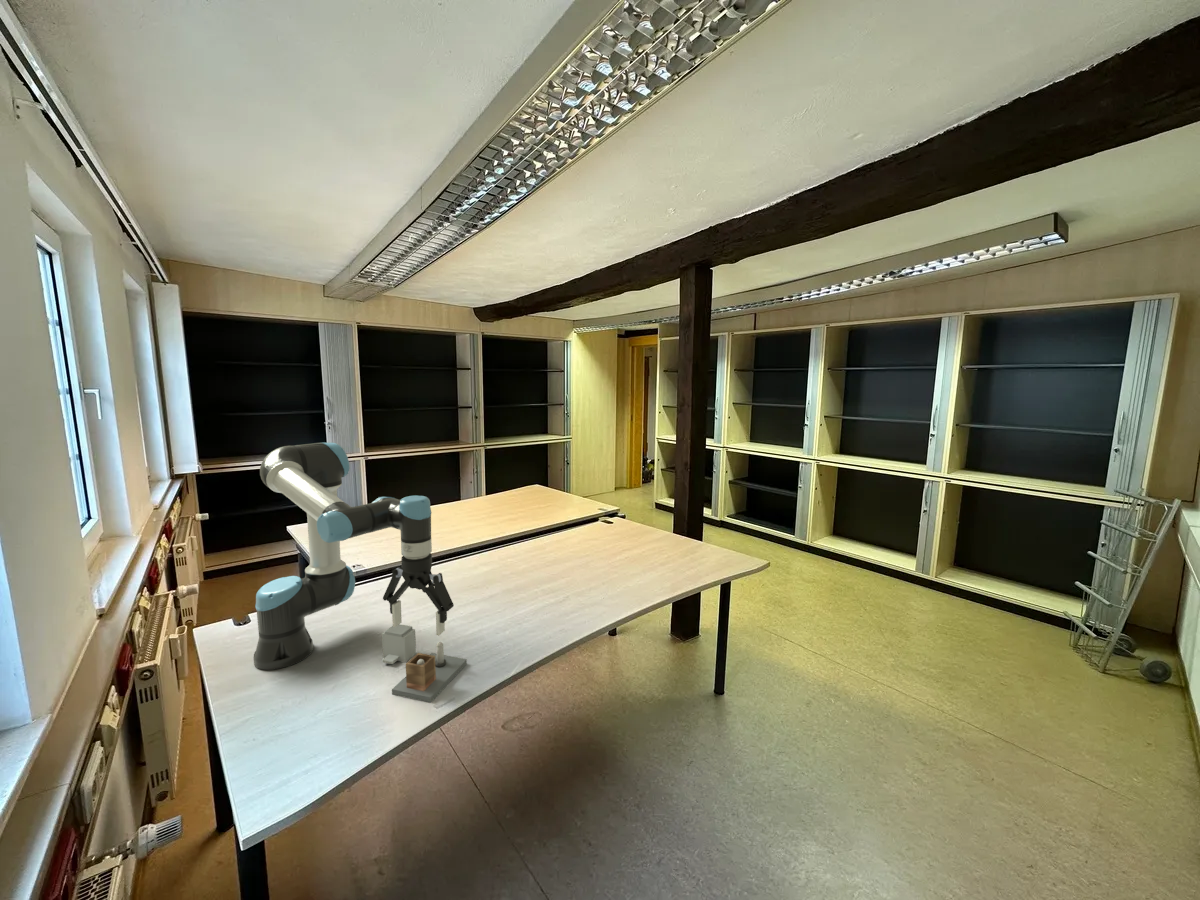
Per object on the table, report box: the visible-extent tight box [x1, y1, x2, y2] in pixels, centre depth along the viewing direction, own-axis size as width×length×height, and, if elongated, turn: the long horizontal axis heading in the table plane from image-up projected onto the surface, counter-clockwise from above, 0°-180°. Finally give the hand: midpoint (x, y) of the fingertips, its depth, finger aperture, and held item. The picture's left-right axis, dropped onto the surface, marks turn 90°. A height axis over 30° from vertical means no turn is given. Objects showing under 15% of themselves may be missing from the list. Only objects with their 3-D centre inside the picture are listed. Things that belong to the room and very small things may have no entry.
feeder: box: [381, 623, 417, 665], centre depth 141 cm, size 8×8×9 cm
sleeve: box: [405, 652, 436, 691], centre depth 127 cm, size 5×5×7 cm
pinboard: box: [391, 641, 468, 703], centre depth 132 cm, size 12×18×8 cm, turn 165°
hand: (418, 628), depth 126 cm, fingers open, 13 cm apart
